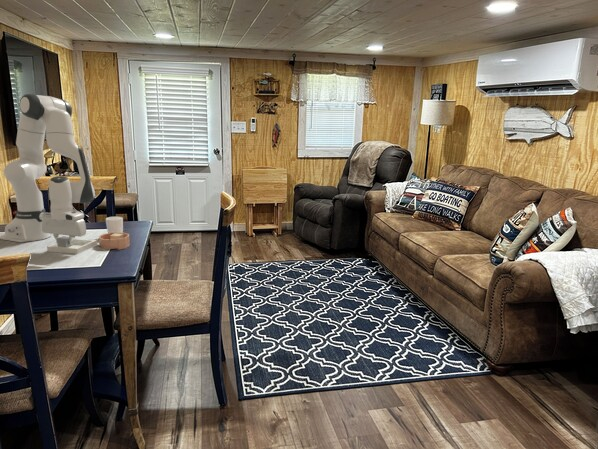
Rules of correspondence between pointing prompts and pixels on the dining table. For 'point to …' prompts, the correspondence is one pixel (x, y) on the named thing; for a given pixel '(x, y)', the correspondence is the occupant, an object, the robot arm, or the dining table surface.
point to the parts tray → (77, 247)
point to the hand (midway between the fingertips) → (65, 243)
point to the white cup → (114, 224)
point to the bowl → (114, 241)
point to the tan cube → (116, 236)
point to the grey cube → (63, 241)
